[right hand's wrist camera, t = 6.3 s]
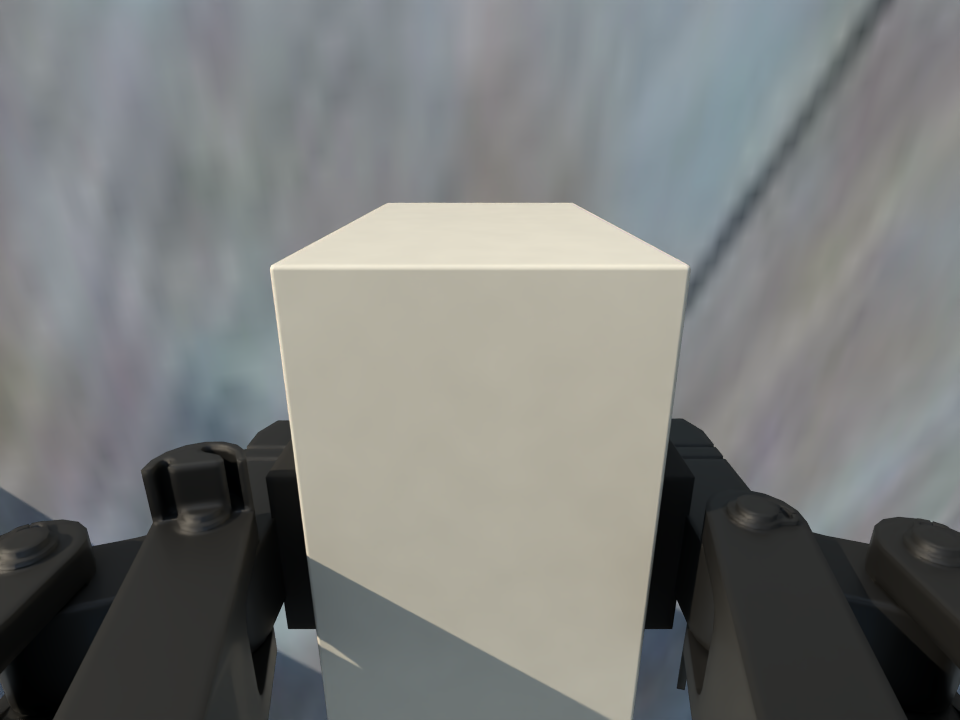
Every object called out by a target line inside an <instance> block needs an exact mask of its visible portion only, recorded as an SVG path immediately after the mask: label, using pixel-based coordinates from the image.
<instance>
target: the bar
mask: <svg viewBox="0 0 960 720" xmlns="http://www.w3.org/2000/svg"><path fill="white" fill-rule="evenodd" d="M690 271H691V269H690V266H689V265H687V264H686V263H684V262H682V261H680V260H678V259H676V258H674V257H673V256H671V255H669V254H667V253H665V252H663V251H661V250H659V249H658V248H656V247H654V246H652V245H650V244H648V243H646V242H645V241H643V240H641V239H639V238H637V237H635V236H633V235H631V234H630V233H628V232H626V231H624V230H622V229H620V228H618V227H617V226H615V225H613V224H611V223H609V222H607V221H605V220H603V219H602V218H600V217H598V216H596V215H594V214H592V213H590V212H589V211H587V210H585V209H583V208H581V207H579V206H577V205H575V204H573V203H387V204H385V205H383V206H381V207H379V208H377V209H376V210H374V211H372V212H370V213H368V214H366V215H364V216H363V217H361V218H359V219H357V220H355V221H353V222H351V223H350V224H348V225H346V226H344V227H342V228H340V229H338V230H337V231H335V232H333V233H331V234H329V235H327V236H325V237H324V238H322V239H320V240H318V241H316V242H314V243H312V244H311V245H309V246H307V247H305V248H303V249H301V250H299V251H297V252H296V253H294V254H292V255H290V256H288V257H286V258H284V259H283V260H281V261H279V262H277V263H275V264H273V265H271V268H270V272H271V280H272V288H273V296H274V304H275V311H276V319H277V327H278V335H279V343H280V350H281V358H282V366H283V374H284V382H285V390H286V397H287V405H288V413H289V421H290V429H291V436H292V444H293V452H294V460H295V468H296V475H297V483H298V491H299V499H300V507H301V514H302V522H303V530H304V538H305V546H306V554H307V561H308V569H309V577H310V585H311V593H312V600H313V608H314V616H315V624H316V632H317V639H318V647H319V655H320V663H321V671H322V678H323V686H324V694H325V702H326V710H327V718H328V720H633V714H634V706H635V698H636V691H637V683H638V675H639V667H640V660H641V652H642V644H643V636H644V628H645V621H646V613H647V605H648V597H649V590H650V582H651V574H652V566H653V558H654V551H655V543H656V535H657V527H658V520H659V512H660V504H661V496H662V488H663V481H664V473H665V465H666V457H667V450H668V442H669V434H670V426H671V418H672V411H673V403H674V395H675V387H676V380H677V372H678V364H679V356H680V349H681V341H682V333H683V325H684V317H685V310H686V302H687V294H688V286H689V279H690Z"/></svg>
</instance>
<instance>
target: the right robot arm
mask: <svg viewBox="0 0 960 720" xmlns="http://www.w3.org/2000/svg"><path fill="white" fill-rule="evenodd" d="M141 473H142V477H143V482H144V486H145V490H146V494H147V499H148V503H149V507H150V511H151V516H152V520H153V524H152V526H151V528H150V530H149V532H148V534H147V535H146V536H142V537H138V538H133V539H128V540H123V541H118V542H113V543H107V544H102V545H97V546H91V542H90V539H89V535H88V532H87V528H85V527H84V526H83V525H82V524H80V523H79V522H76V521H69V520H53V521H40V522H35V523H31V525H29V524H27V525H24V526H21V527H17V528H15V529H14V530H12V531H10V532H8V533H6V534H3V535H1V536H0V682H1V685H2V687H3V690H4V693H5V694H4V696H3V697H2V698H1V699H0V720H268V717H269V709H270V702H271V694H272V686H273V678H274V670H275V663H276V655H277V647H276V639H275V633H274V627H273V625H274V623H275V621H276V619H277V616H278V614H279V612H280V609H281V607H282V605H283V603H284V604H285V611H286V618H287V624H288V629H316V624H315V616H314V608H313V600H312V593H311V585H310V577H309V569H308V561H307V554H306V546H305V538H304V530H303V522H302V514H301V507H300V499H299V491H298V483H297V475H296V468H295V460H294V452H293V444H292V436H291V429H290V421H276V422H275V423H273V424H271V425H270V426H268V427H266V428H265V429H263V430H261V431H260V432H258V433H257V435H256V436H255V437H254V438H253V440H252V441H251V442H250V443H249V445H248V446H247V449H245V450H243V449H242V448H241V447H239V446H238V445H236V444H231V443H227V442H202V443H197V444H191V445H186V446H183V447H180V448H177V449H174V450H171V451H168V452H166V453H164V454H162V455H160V456H158V457H156V458H155V459H153V460H151V461H150V462H149V463H148V464H147V465H146V466H145V467H144V468H143V469H142V470H141ZM676 600H677V601H678V603H679V606H680V608H681V610H682V612H683V615H684V617H685V619H686V622H687V627H686V633H685V639H684V645H683V652H682V658H681V664H680V670H679V677H678V684H677V689H682V690H685V685H686V679H687V685H688V693H689V700H690V708H691V716H692V720H960V695H959V694H958V693H957V692H956V691H957V689H958V686H959V684H960V532H957V531H955V530H953V529H950V528H949V527H947V526H946V525H943V524H940V523H937V522H933V523H932V522H930V521H929V520H924V519H918V518H917V519H914V518H904V517H895V518H888V519H883V520H881V521H880V522H879V523H878V524H876V525H875V526H874V530H873V533H872V537H871V540H870V544H867V543H861V542H856V541H851V540H846V539H840V538H835V537H830V536H825V535H821V534H817V533H813V532H812V531H811V529H810V527H809V525H808V523H807V521H806V520H805V519H804V518H803V517H802V515H801V514H800V513H799V512H798V511H797V510H796V509H794V508H793V507H791V506H790V505H788V504H787V503H785V502H783V501H781V500H779V499H776V498H774V497H771V496H769V495H766V494H763V493H758V492H754V491H751V490H750V489H749V488H748V487H747V485H746V484H745V483H744V482H743V480H742V479H741V478H740V477H739V475H738V474H737V473H736V472H735V470H734V469H733V468H732V467H731V465H730V464H729V463H728V462H727V460H726V459H723V455H722V454H721V453H720V452H719V450H718V449H717V448H716V447H714V444H713V443H712V442H711V441H710V439H709V438H708V437H707V436H706V434H705V433H704V432H703V431H702V430H701V429H699V428H697V427H696V426H694V425H692V424H691V423H689V422H687V421H686V420H684V419H671V426H670V434H669V442H668V450H667V457H666V465H665V473H664V481H663V488H662V496H661V504H660V512H659V520H658V527H657V535H656V543H655V551H654V558H653V566H652V574H651V582H650V590H649V597H648V605H647V613H646V621H645V628H644V629H672V627H673V620H674V614H675V607H676Z"/></svg>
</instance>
